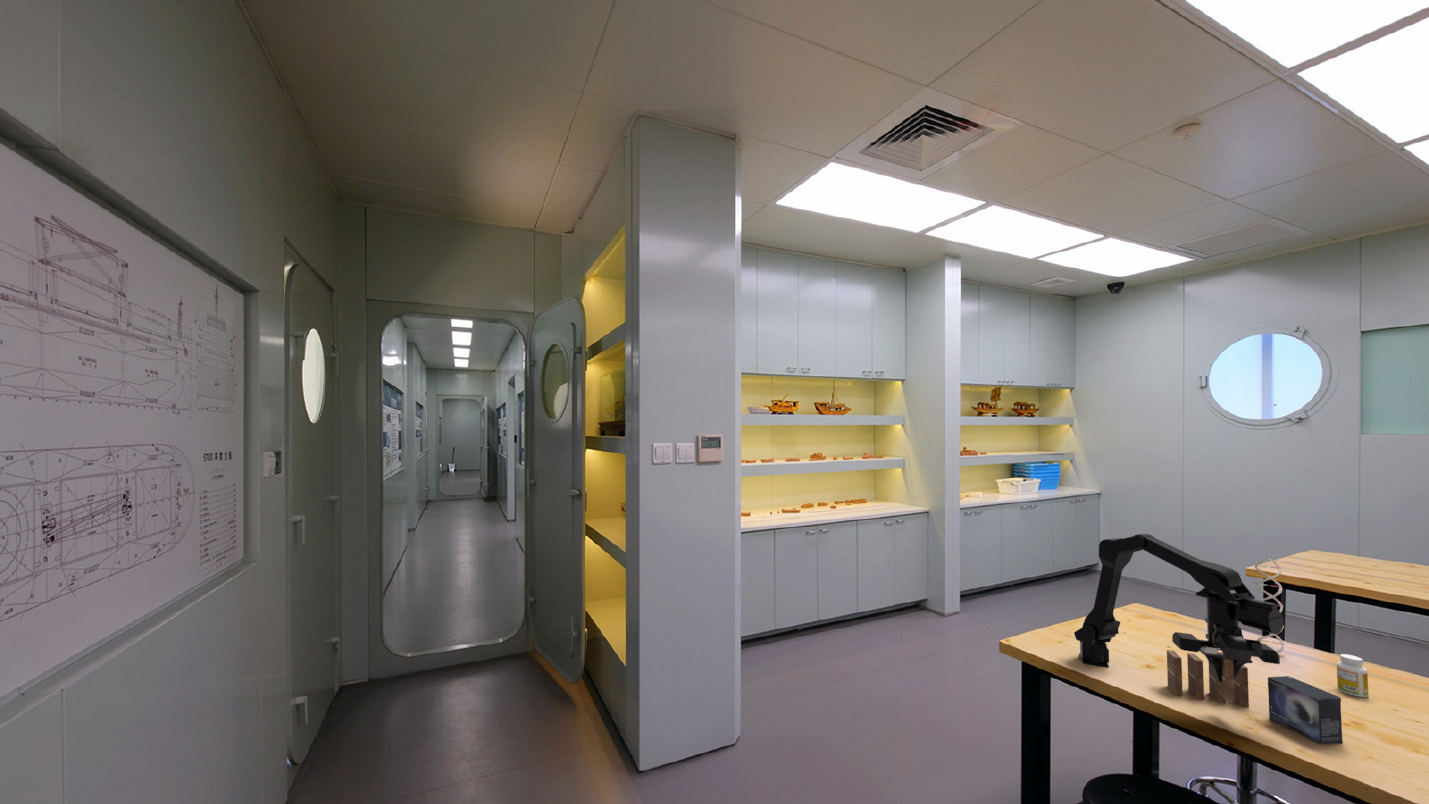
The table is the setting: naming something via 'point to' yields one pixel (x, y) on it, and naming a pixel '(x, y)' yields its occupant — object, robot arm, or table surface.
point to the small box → (1305, 709)
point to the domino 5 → (1241, 687)
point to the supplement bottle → (1352, 676)
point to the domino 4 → (1226, 679)
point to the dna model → (1270, 598)
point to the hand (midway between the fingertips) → (1224, 682)
